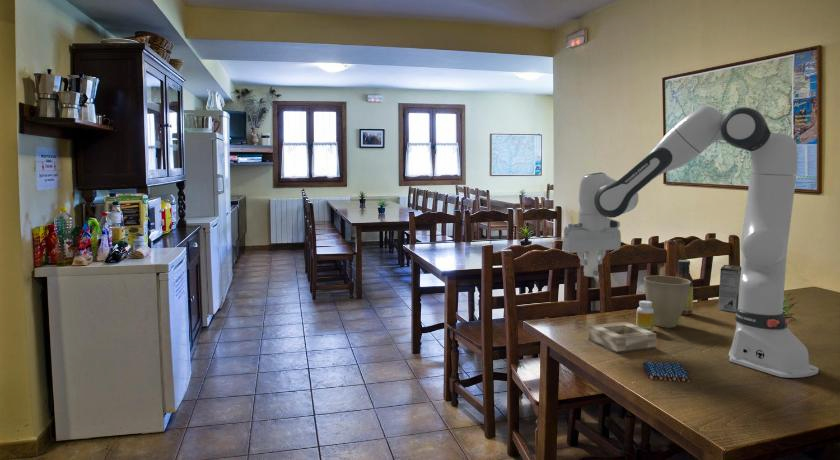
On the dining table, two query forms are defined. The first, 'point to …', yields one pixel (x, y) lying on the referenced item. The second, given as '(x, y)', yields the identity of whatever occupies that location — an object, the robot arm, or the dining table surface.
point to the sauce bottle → (685, 274)
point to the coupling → (591, 263)
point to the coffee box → (729, 288)
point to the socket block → (622, 337)
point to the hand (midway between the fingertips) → (591, 264)
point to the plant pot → (666, 298)
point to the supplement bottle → (645, 315)
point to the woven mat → (666, 371)
